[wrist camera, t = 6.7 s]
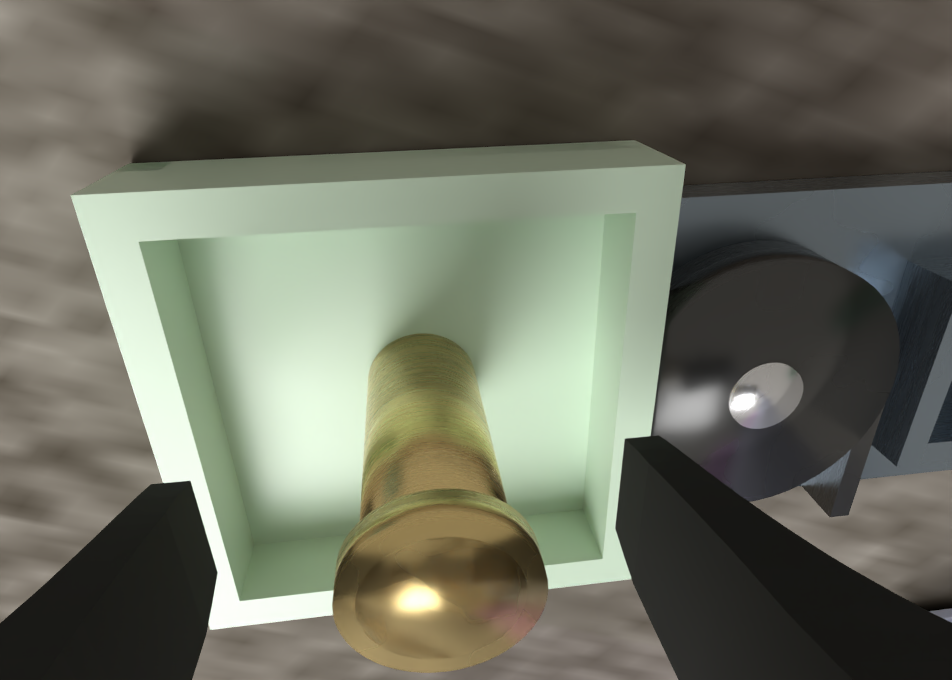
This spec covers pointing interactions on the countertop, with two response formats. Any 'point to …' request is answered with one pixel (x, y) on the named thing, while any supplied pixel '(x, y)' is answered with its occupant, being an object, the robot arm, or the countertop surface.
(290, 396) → the tray
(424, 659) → the pin
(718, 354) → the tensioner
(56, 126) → the countertop surface
